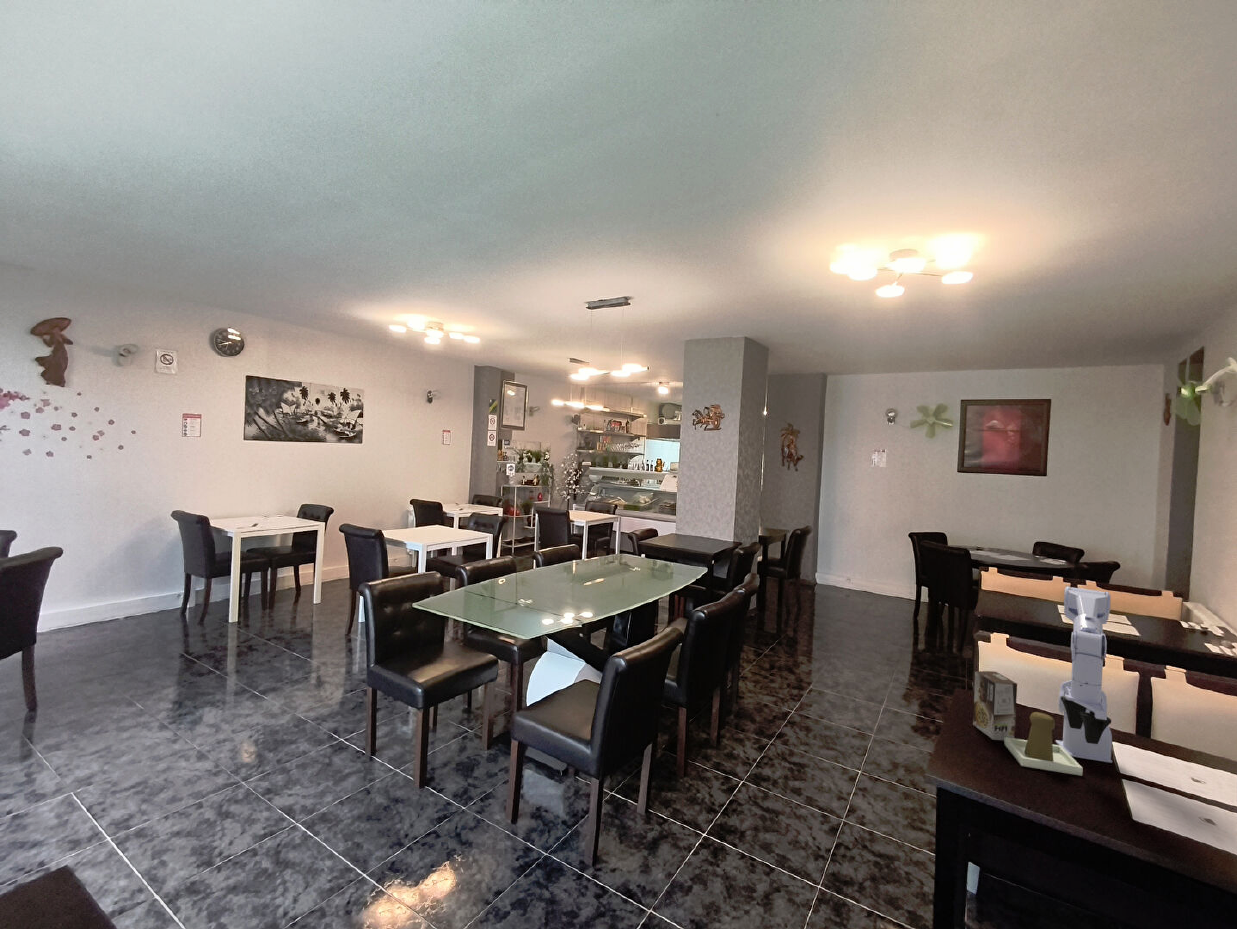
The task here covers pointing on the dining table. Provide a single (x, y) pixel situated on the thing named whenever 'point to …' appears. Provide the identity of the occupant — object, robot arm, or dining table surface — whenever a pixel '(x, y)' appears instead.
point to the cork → (1040, 737)
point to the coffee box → (994, 705)
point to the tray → (1059, 764)
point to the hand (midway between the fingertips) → (1083, 735)
